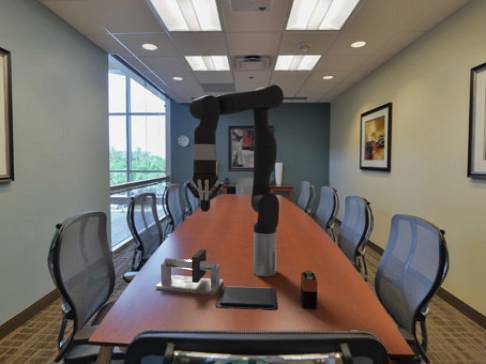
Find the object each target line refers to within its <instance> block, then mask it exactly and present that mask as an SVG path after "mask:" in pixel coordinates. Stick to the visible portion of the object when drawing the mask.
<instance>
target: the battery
mask: <svg viewBox="0 0 486 364" xmlns="http://www.w3.org/2000/svg"><path fill="white" fill-rule="evenodd" d="M300 299H301V301H300V302H301V306H302V308H303V309H310V310H317V307H318V280H317V277H316V273H314V272H313V271H311V270H307V269H306V270H305V271H302V272H301V274H300Z"/></svg>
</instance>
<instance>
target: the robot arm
mask: <svg viewBox="0 0 486 364" xmlns="http://www.w3.org/2000/svg"><path fill="white" fill-rule="evenodd" d="M283 91H284V90H283V89H282V88H281V86H280V85H276V84H268V85H265V86H260V87H258V88H256V89H255V90H250V91H238V92H229V93H222V94H219V95H216V96H214V95H212V94H207V95H206V94H205V95H203V96H200V97H196V98H194V99H193V100H192V101H191V102H190V104H189V112H190V115H191V116H192V117H193V118H194V119H196V120H199V123H198V126H196V127H195V128H194V131H193V135H194V136H193V154H192V159H193V160H192V161H193V163H192V164H193V169H192V170H193V176H192V178H191V179H192V180H190V181H189V182H187V183H186V184H185V185H186V187H187V188H188V190H189V191H190V193H191V194H192V195H193V197H194V198H195V199H199V200H200V209H201V211H202V212H209V210H210V209H211V200H212V199H214V198H216V197H217V195H218V194H219V193H220V192H221V191H222V189H223V188H224V187H225V183H223V182H221V181H220V180H219V177H218V174H217V158H218V157H217V147H216V146H217V145H216V144H217V143H216V142H217V141H216V139H217V136H216V133H217V128H218V124H219V121H220V117H221V116H227V115H228V116H229V115H234V114H239V113H242V112H246V111H249V110H253V111H252V112H253V129H254V130H253V131H254V132H253V135H254V137H253V138H254V139H253V181H252V191H251V196H250V197H251V198H250V204H251V208H252V210H253V211H254V212H256V213H257V221H256V222H255V223H254V225H253V252H252V253H253V254H252V255H253V258H252V259H253V261H252V263H253V265H252V266H253V268H252V269H253V270H252V271H253V274H254V275H256V276H259V277H266V278H267V277H275V276H276V273H277V250H278V249H277V227H278V225H279V219H280V200H279V198H278V197H277V195H276V194H274V193H272V192H270V181H271V175H272V173H273V171H274V168H275V165H276V162H277V153H278V152H277V149H278V147H277V139H276V137H275V135H274V133H273V131H272V129H271V127H270V125H269V110H274V109H275V110H276V109H278V108H280V107H281V106H282V104H283V102H284V99H285V97H284V92H283ZM196 187H197V188H196ZM214 187H215V189H214V190H213V188H214ZM212 190H213V191H212Z"/></svg>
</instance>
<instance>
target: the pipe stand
mask: <svg viewBox="0 0 486 364" xmlns="http://www.w3.org/2000/svg"><path fill="white" fill-rule="evenodd" d="M172 268H173V269H174V268H175V269H184V270H192V259H187V258H186V259H184V258H183V259H182V258H173V257H166V258H165V259H164V261H163V262H162V263H161V264H160V269H161V270H160V278H161V279H160V280H161V281H160V282H158V283H157V284H156V285H155V290H161V291H172V292H179V293H181V292H182V293H189V292H191V293H192V294H199V293H200V294H202V295H208V294H209V295H210V296H211V295H212V296H216V295H215V294H217V293H218V291H220V289H221V288H222V285H223V283H224V279H220V273H221V272H220V269H221V268H220V264H217V261H209V260H206V261H200V270H206V272H207V271H208V272H209V271H210V277H202V278H201V279H200V281H199V282H198V283H194V282H192V276H190V275H188V276H186V275H180V274H179V275H178V274H172Z"/></svg>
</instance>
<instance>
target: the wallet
mask: <svg viewBox="0 0 486 364" xmlns="http://www.w3.org/2000/svg"><path fill="white" fill-rule="evenodd" d="M221 288H222V289H221ZM221 288H220V289H219V293H218V295H219V296H217V298H218V299H216V301H215V305H214V307H215V306H216V307H215V309H229V308H234V309H233V310H237V308H238V310H239V309H240V310H256V309H262V311H278V309H279V303H277V302H278V296H277V289H276V288H274V287H273V288H272V287H259V286H258V287H254V286H230V285H229V286H227V285H226V286H221ZM217 307H218V308H217ZM219 307H220V308H219Z"/></svg>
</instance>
